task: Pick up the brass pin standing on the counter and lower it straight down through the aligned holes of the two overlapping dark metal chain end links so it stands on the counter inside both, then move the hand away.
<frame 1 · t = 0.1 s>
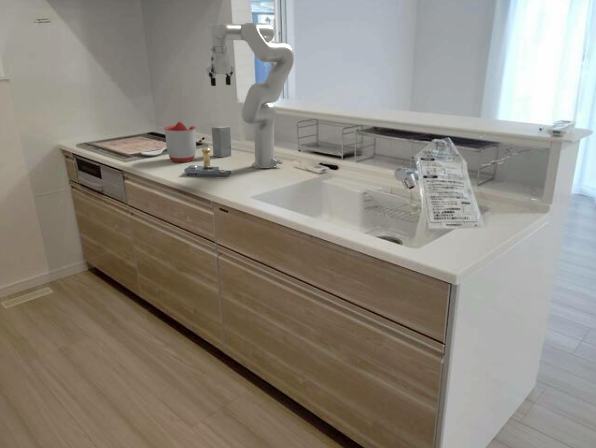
hand: (220, 85, 254), 37 cm above the worktop, tool pointing down, fingers open, 9 cm apart
upper link: (208, 174, 229), on the worktop
spoon: (167, 153, 273), on the worktop
lower link: (208, 174, 229), on the worktop
brass pin: (207, 169, 238), on the worktop
citrus juicer: (183, 160, 257), on the worktop
skincare box: (222, 156, 267), on the worktop
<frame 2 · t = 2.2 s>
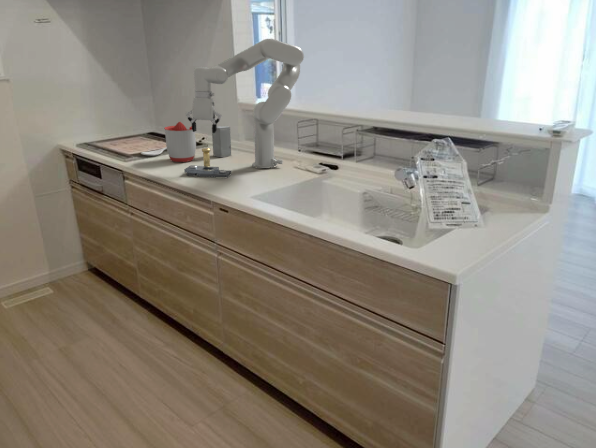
hand: (204, 132, 232), 18 cm above the worktop, tool pointing down, fingers open, 9 cm apart
nothing on the worktop moved.
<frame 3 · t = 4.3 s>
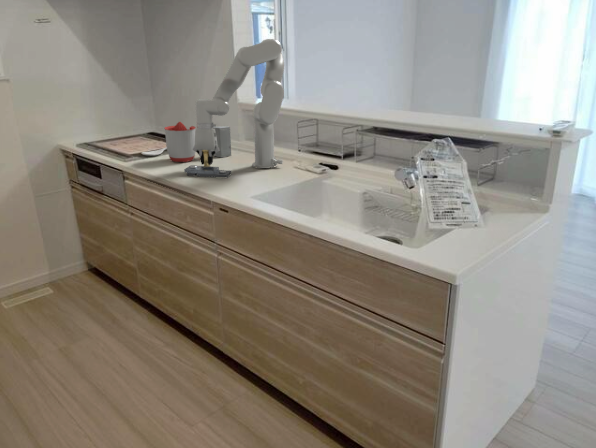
hand: (206, 163, 237), 3 cm above the worktop, tool pointing down, fingers closed on brass pin, 3 cm apart
brass pin: (207, 169, 238), on the worktop, touching gripper
everything else where it was.
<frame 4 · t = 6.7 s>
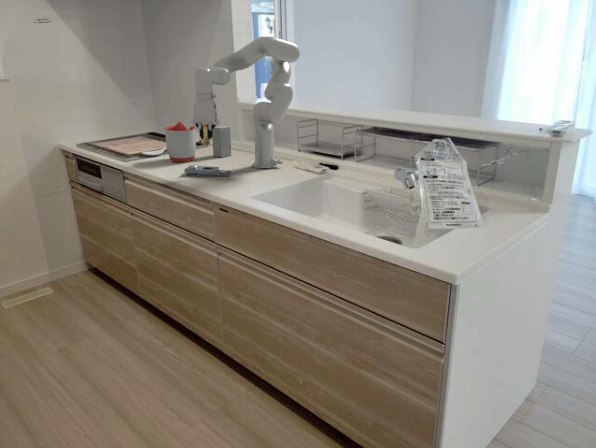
hand: (206, 138, 223), 17 cm above the worktop, tool pointing down, fingers closed on brass pin, 3 cm apart
brass pin: (206, 144, 224), point 14 cm above the worktop, touching gripper
everything else where it was.
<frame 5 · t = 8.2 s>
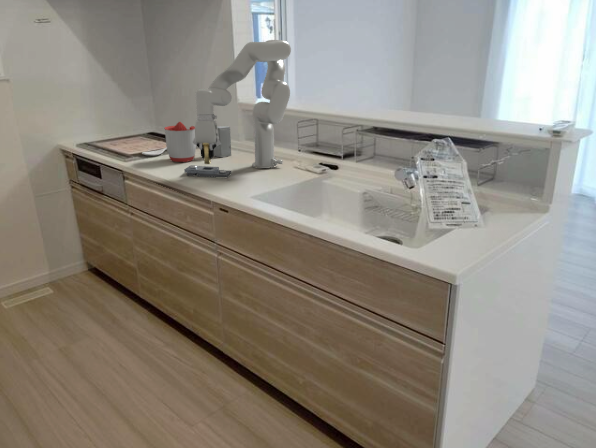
hand: (207, 157, 226), 8 cm above the worktop, tool pointing down, fingers closed on brass pin, 3 cm apart
brass pin: (207, 163, 227), point 5 cm above the worktop, touching gripper
everything else where it was.
when the fingers open (4 cm above the worktop, at t = 9.2 s): brass pin drops 1 cm, on the worktop.
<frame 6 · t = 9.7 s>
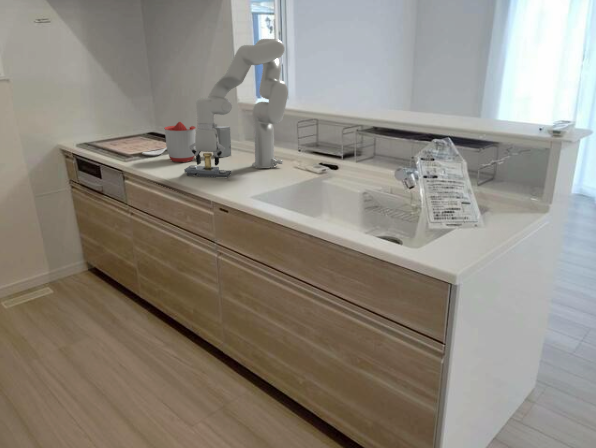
hand: (207, 164, 227), 5 cm above the worktop, tool pointing down, fingers open, 8 cm apart
brass pin: (208, 174, 229), on the worktop
everything else where it was.
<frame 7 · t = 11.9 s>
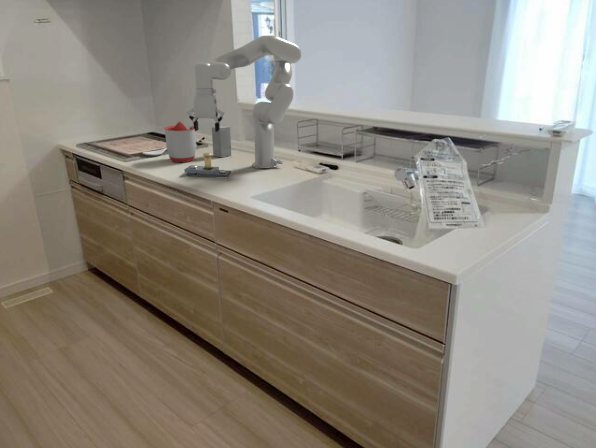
hand: (206, 130, 222), 20 cm above the worktop, tool pointing down, fingers open, 9 cm apart
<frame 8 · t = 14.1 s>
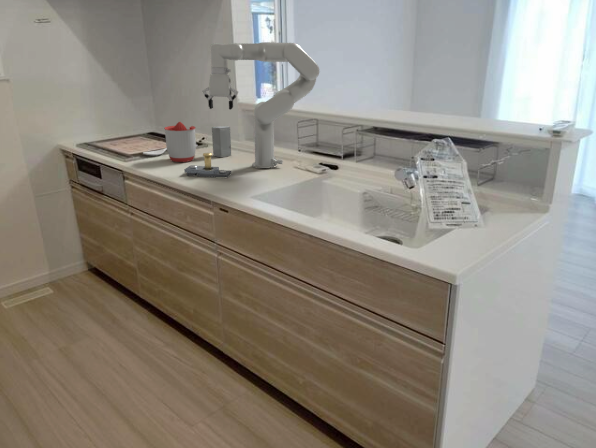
hand: (220, 108, 234), 28 cm above the worktop, tool pointing down, fingers open, 9 cm apart
at the end: brass pin 0.1 cm off-centre on the lower link, point 0.0 cm above the lower link's base; brass pin tilted 0°; the gripper is holding nothing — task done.
